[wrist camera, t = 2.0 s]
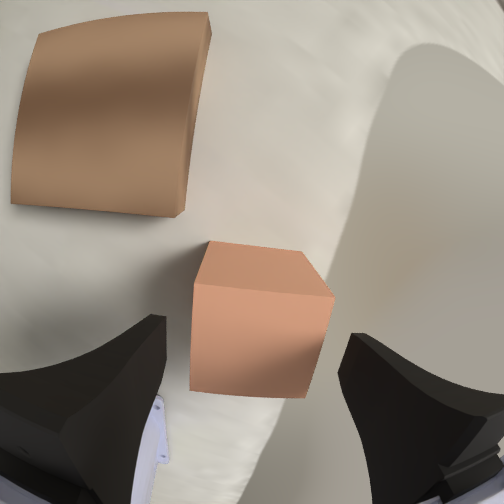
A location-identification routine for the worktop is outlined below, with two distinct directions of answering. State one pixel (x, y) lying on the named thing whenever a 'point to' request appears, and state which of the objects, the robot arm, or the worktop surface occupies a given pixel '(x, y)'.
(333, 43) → the worktop surface
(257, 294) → the terracotta block
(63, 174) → the walnut base
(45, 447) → the robot arm
